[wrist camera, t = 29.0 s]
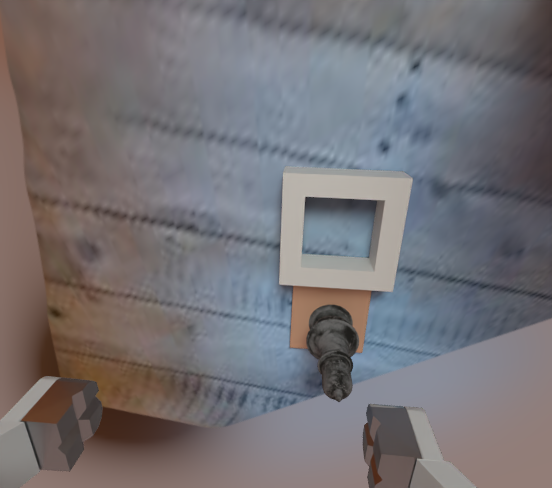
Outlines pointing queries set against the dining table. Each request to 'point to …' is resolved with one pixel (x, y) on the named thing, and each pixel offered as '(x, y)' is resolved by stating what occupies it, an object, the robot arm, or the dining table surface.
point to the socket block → (385, 237)
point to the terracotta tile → (316, 297)
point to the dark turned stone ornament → (333, 348)
